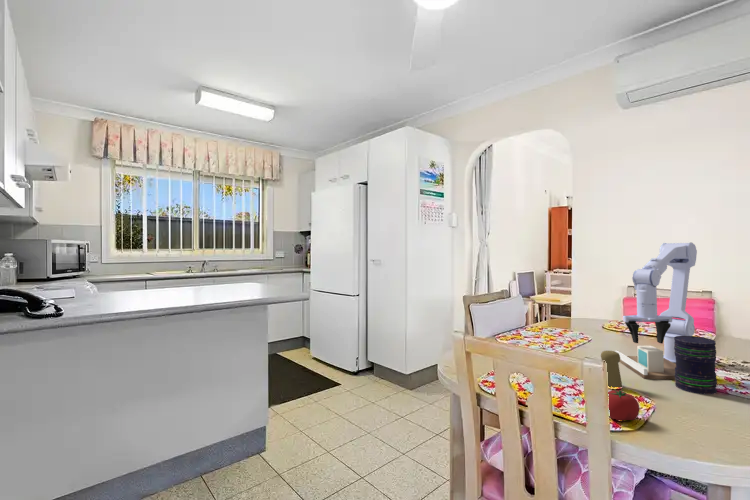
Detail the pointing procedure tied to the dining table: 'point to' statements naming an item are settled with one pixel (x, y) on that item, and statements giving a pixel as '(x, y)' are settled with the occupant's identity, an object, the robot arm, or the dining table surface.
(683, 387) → the dark blue cylinder
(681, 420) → the dining table surface
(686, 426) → the dining table surface
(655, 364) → the carton
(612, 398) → the tomato
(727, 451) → the dining table surface
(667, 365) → the brown tray
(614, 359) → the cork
